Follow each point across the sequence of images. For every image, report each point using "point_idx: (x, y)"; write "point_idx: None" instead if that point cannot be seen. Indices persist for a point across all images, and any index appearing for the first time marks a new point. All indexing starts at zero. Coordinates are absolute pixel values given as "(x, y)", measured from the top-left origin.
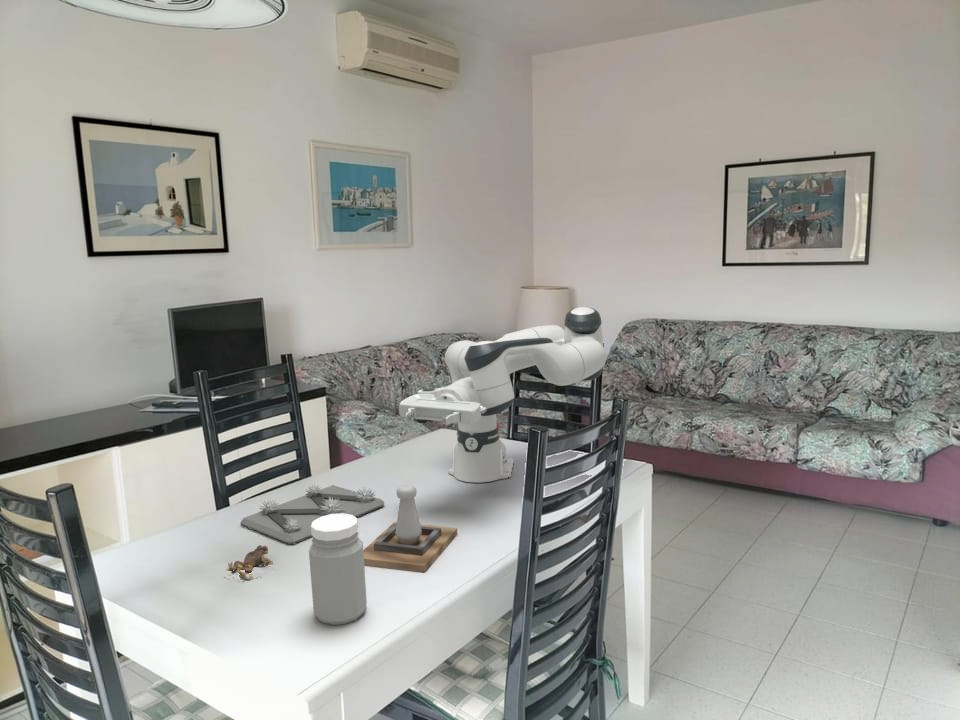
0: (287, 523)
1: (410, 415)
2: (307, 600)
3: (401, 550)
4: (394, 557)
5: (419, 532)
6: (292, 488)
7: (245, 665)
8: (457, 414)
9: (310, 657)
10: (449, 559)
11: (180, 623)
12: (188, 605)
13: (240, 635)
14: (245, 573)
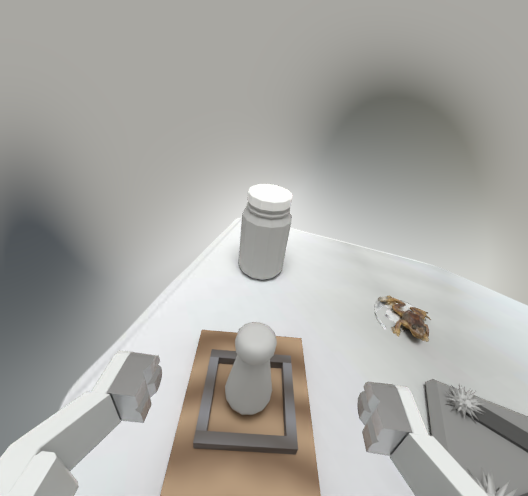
0: (471, 394)
1: (369, 382)
2: (300, 279)
3: None
4: None
5: (226, 382)
6: None
7: None
8: (19, 441)
9: None
10: (171, 376)
11: (364, 252)
12: (384, 267)
13: (313, 245)
14: (387, 297)
